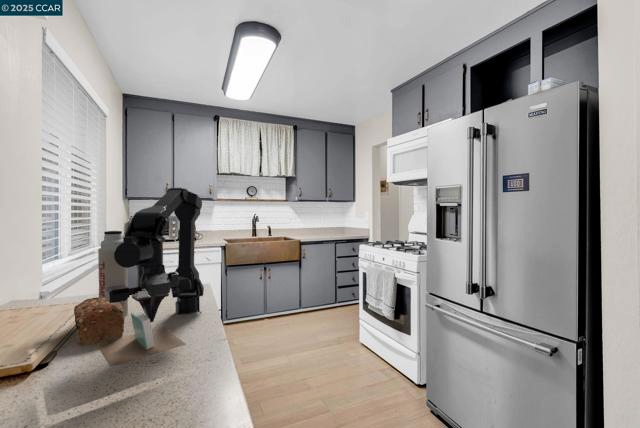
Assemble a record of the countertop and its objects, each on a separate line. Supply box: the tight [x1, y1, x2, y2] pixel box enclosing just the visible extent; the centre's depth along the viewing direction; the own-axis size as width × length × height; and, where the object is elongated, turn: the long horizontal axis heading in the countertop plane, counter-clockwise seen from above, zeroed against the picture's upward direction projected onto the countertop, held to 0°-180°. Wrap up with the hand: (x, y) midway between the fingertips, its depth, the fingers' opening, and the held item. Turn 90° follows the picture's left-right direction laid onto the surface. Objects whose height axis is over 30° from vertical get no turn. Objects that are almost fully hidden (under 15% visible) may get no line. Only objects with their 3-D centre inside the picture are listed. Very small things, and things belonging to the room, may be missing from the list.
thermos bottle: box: [97, 230, 129, 317], centre depth 104 cm, size 8×8×28 cm
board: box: [96, 326, 187, 367], centre depth 79 cm, size 16×16×1 cm
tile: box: [130, 310, 155, 350], centre depth 79 cm, size 2×9×7 cm, turn 45°
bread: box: [73, 296, 125, 347], centre depth 88 cm, size 19×11×10 cm, turn 38°
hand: (150, 322), depth 80 cm, fingers closed
